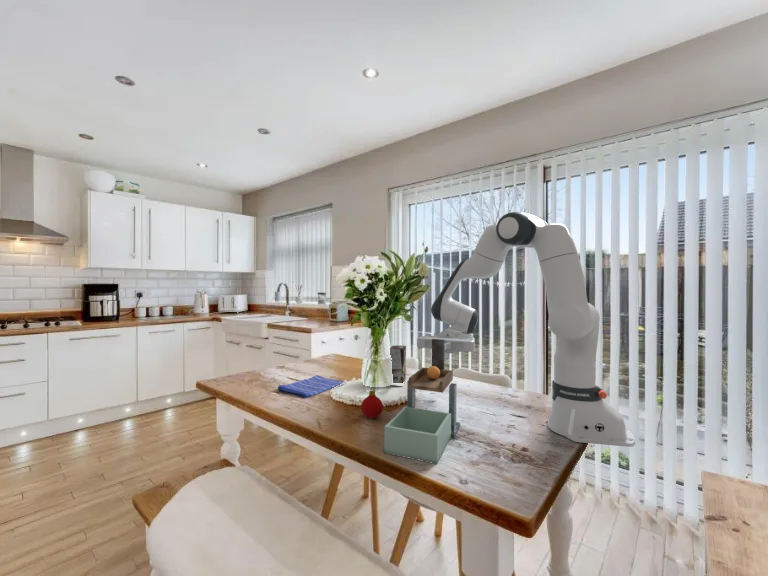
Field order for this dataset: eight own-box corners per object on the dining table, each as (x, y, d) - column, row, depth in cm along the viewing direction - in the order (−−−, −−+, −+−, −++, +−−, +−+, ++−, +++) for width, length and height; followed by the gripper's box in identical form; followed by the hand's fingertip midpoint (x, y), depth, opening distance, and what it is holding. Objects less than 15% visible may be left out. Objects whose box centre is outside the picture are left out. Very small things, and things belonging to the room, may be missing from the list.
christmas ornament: (373, 423, 111) (373, 392, 111) (356, 418, 115) (356, 387, 115) (387, 417, 117) (387, 387, 116) (370, 412, 121) (370, 383, 121)
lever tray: (453, 379, 114) (453, 340, 113) (442, 392, 100) (442, 348, 99) (423, 375, 117) (423, 338, 117) (408, 388, 103) (409, 345, 103)
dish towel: (275, 392, 144) (275, 385, 144) (317, 379, 163) (317, 372, 163) (305, 400, 134) (305, 392, 134) (345, 385, 154) (345, 378, 154)
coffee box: (403, 387, 150) (403, 349, 150) (388, 386, 151) (388, 348, 151) (406, 381, 159) (406, 345, 159) (392, 380, 160) (392, 344, 160)
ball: (441, 378, 111) (441, 365, 111) (438, 381, 107) (438, 368, 107) (428, 376, 112) (429, 364, 112) (425, 379, 109) (425, 366, 109)
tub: (450, 437, 101) (451, 413, 101) (437, 464, 87) (437, 435, 86) (404, 429, 107) (405, 406, 107) (384, 453, 92) (384, 426, 92)
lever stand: (460, 426, 109) (460, 381, 109) (454, 438, 101) (454, 389, 101) (411, 418, 115) (411, 375, 115) (401, 429, 107) (402, 383, 107)
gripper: (422, 330, 135) (411, 335, 122) (477, 333, 127) (471, 339, 114) (422, 347, 135) (411, 353, 122) (477, 351, 127) (471, 359, 114)
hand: (440, 347), depth 118 cm, fingers closed
